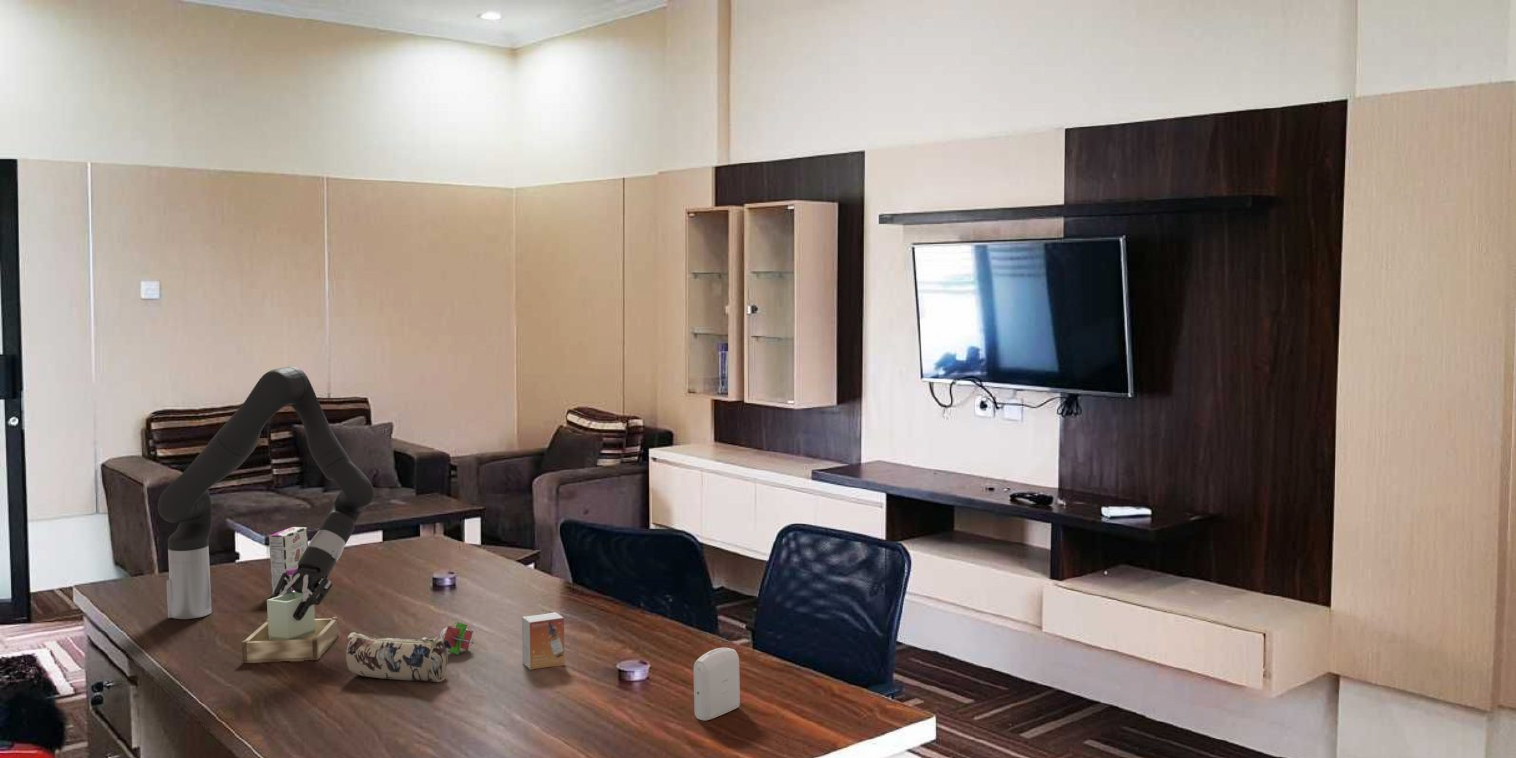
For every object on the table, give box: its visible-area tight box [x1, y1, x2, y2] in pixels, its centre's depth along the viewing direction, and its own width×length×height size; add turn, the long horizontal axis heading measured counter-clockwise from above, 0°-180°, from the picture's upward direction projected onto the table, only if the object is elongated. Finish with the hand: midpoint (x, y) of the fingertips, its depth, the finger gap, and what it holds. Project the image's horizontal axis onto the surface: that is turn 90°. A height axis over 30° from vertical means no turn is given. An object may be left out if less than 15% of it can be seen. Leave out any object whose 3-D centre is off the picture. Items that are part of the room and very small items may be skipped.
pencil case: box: [345, 632, 451, 683], centre depth 261 cm, size 22×8×10 cm, turn 76°
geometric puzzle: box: [439, 621, 474, 656], centre depth 278 cm, size 7×7×8 cm
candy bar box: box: [268, 526, 309, 596], centre depth 334 cm, size 11×5×16 cm, turn 168°
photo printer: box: [693, 647, 741, 722], centre depth 238 cm, size 10×4×12 cm, turn 140°
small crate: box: [266, 591, 316, 641], centre depth 281 cm, size 6×8×9 cm
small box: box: [521, 611, 566, 670], centre depth 269 cm, size 8×6×10 cm
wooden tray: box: [241, 616, 339, 664], centre depth 281 cm, size 16×18×5 cm
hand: (285, 617), depth 279 cm, fingers closed on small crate, 6 cm apart
